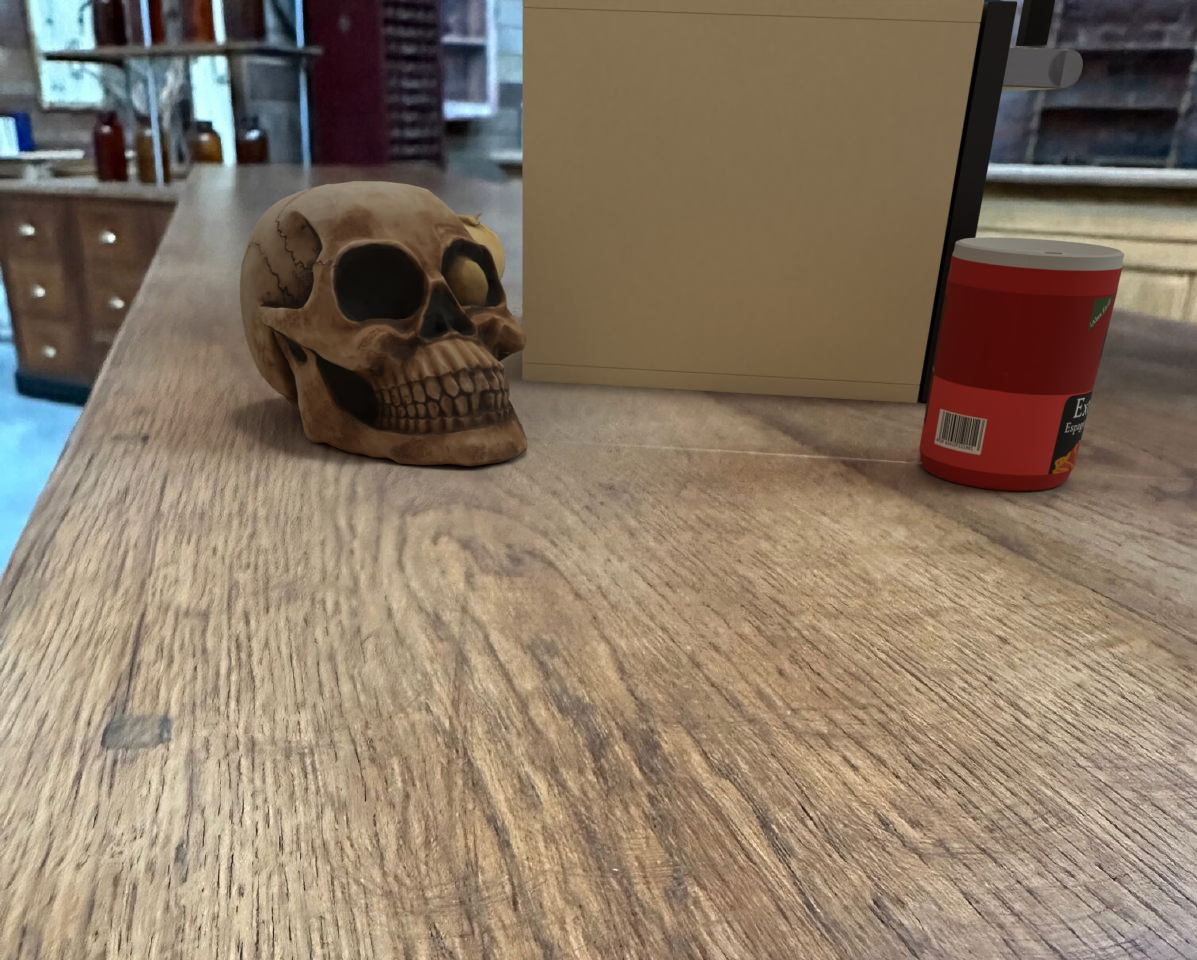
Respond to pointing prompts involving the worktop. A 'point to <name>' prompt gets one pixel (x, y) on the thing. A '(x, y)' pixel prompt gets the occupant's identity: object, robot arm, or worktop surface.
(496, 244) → the onion
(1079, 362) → the canned food
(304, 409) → the brown skull
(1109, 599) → the worktop surface
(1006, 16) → the oven door
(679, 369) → the oven
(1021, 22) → the robot arm
